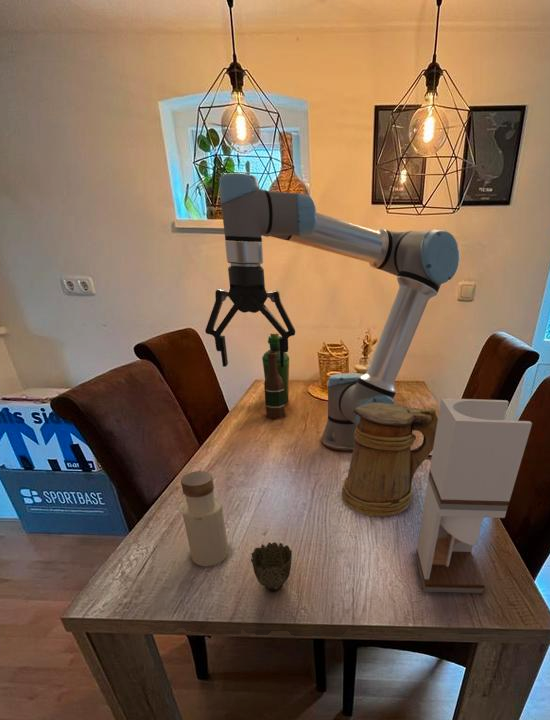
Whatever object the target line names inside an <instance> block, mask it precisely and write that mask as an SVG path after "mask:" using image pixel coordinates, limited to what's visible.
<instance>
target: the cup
mask: <svg viewBox="0 0 550 720" xmlns="http://www.w3.org/2000/svg"><path fill="white" fill-rule="evenodd" d="M292 560H293V550H292V549H291V548H290V547H289V545H288V544H285V545H283V543H282V542H280V543H279V544H278V543H277V542H275V541H273V542H272V543H271V541H270V542H268V543H267V544H266V545H264V544H261V547H255V548H254V550H253V552H251V564H252V568H253V572H254V575H255V577H256V578H255V579H256V580H257V582H258V583H259V584H260V585H262V587H264V588H265V590H266V591H268V592H271V593H274V592H278V591H280V590H281V589H282V588H283V587H284V584H285V583H286V582H287V581H288V580H289V578H290V575H291V569H292Z"/></svg>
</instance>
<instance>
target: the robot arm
mask: <svg viewBox="0 0 550 720" xmlns="http://www.w3.org/2000/svg"><path fill="white" fill-rule="evenodd" d="M219 195H220V197H219V198H220V202H219V203H220V204H219V205H220V206H221V215H222V223H223V230H224V231H223V232H224V243H225V244H224V246H225V253H226V254H225V255H226V262H227V263H228V264H230V265H229V266H228V267H227V272H228V281H229V290H223V289H221V288H218V289H216V290H215V293H214V294H215V300H214V304H213V307H212V310H211V312H210V315H209V318H208V321H207V324H206V327H205V329H204V332H205V334H206V335H210V336H213V337H214V345H215V350H216V352H220V355H221V356H220V357H221V362H222V367H223V368H224V367H227V366H228V365H229V361H228V353H227V345H226V337H225V335H222V333H223V331H225V329H226V328H227V326H228V325H229V324H230V322H232V319H233V318H234V317H235V315H236V314H237V313H238V311H239V312H241V313H252V314H256V313H259V312H260V313H261V314H262V315H263V316H264V317H265V318H266V319H267V321H268V322H269V323H270V324H271V325H272V326H273V328H274V329H275V330H276V331H277V333H279V336H280V338H279V342H280V362H281V367H284V352H285V353H289V338H290V337H293V336H295V335H296V329H295V327H294V325H293V323H292V321H291V319H290V317H289V316H288V312H287V311H286V309H285V307H284V305H283V303H282V300H281V293H280V291H279V290H275V291H269V292H268V291H267V290H266V283H265V281H266V280H265V268H264V267H263V266H262V265H263V264H264V254H263V239H262V236H263V237H267V238H268V237H269V238H270V237H271V238H275V239H279V240H283V241H288V242H291V243H295V244H298V245H303V246H306V247H311V248H314V249H318V250H322V251H325V252H329V253H333V254H336V255H340V256H343V257H348V258H351V259H355V260H359V261H362V262H366V263H368V264H369V266H370V267H371V268H373V269H377V270H380V271H382V272H386V273H388V274H391V275H393V276H396V281H397V284H398V291H397V292H396V295H395V298H394V300H393V303H392V305H391V308H390V310H389V312H388V315H387V319H386V321H385V323H384V326H383V329H382V331H381V334H380V336H379V339H378V342H377V344H376V346H375V350H374V352H373V354H372V357H371V360H370V363H369V365H368V366H367V367H368V368H367V369H366V372H365V373H364V374H363V373H358V372H357V373H356V372H343V373H334V374H332V375H330V376H329V378H328V380H327V381H328V383H327V421H326V424H325V428H324V429H323V432H322V436H321V441H322V444H323V445H324V447H327V448H328V449H331V450H334V451H339V452H340V451H341V452H353V449H354V444H355V439H354V432H355V428H356V425H357V424H358V423H359V421H360V416H359V415H357V414H356V413H354V410H355V409H356V408H357V407H360V406H363V405H366V404H369V403H387V404H395V405H396V403H395V401H394V399H395V396H396V394H397V390H396V387H395V382H396V380H397V377H398V376H399V373H400V370H401V368H402V365H403V363H404V361H405V358H406V356H407V353H408V351H409V349H410V347H411V343H412V341H413V339H414V337H415V334H416V332H417V329H418V327H419V324H420V322H421V319H422V316H423V315H424V312H425V310H426V307H427V304H428V302H429V300H430V299H432V298H434V297H436V296H437V295H438V293H439V291H440V288H441V286H442V285H443V284H445V283H447V282H449V281H450V280H452V279H453V278H454V276H455V275H456V273H457V270H458V268H459V265H460V256H461V255H460V250H459V244H458V242H457V239H456V238H455V236H454V235H453V234H452V233H451V232H449V231H447V230H443V229H438V228H432V229H425V230H406V231H405V230H402V231H401V230H400V231H399V230H398V231H396V230H388V229H385V228H378V229H377V230H373V229H371V228H367V227H364V226H361V225H357V224H354V223H351V222H348V221H345V220H342V219H339V218H335V217H333V216H329V215H326V214H322V213H319V212H317V206H316V203H315V200H314V198H313V197H312V196H311V195H309V194H303V193H300V192H285V191H274V190H266V189H262V188H260V185H259V180H258V178H257V177H256V176H254V175H252V174H247V173H241V172H240V173H239V172H229V173H227V172H226V173H223V174H222V175H221V176H220V178H219ZM227 298H228V299H230V301H231V302H232V304H233V305H232V306H231V308H230V309H229V311H228V313H227V314H226V315H225V317H224V318H223V319H222V321H221V322H220V324H219V325H218V327H217V328H216V329H215V325H216V323H217V320H218V317H219V314H220V312H221V309H222V306H223V303H224V302H225V301H226V300H227ZM267 299H270V301H271V302H272V303H274V305H275V307H276V309H277V311H278V313H279V315H280V317H281V318H282V321H283V323H284V325H285V327H286V328H287V330H286V329H285V328H284V326H283V325H282V324H281V323H280V322H279V321H278V319H277V318H276V317H275V316H274V314H273V313H272V312H271V311H270V310H269V308H268V307H267V306H266V304H265V303H266V301H267ZM427 458H430V459H431V458H432V454H429V455H428V457H427Z"/></svg>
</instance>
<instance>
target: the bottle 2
mask: <svg viewBox="0 0 550 720" xmlns="http://www.w3.org/2000/svg"><path fill="white" fill-rule="evenodd" d="M280 337H281V335H280V333H279V332H270V335H269V336H268V339H267V344H268V345H269V349H268V350H267V351H265V353H263V355H262V358H261V359H262V367H263V375H264V379H265V378H266V377H267V375H268V356H267V354H268V352H276V353H277V366H278V373H279V375H280V377H281V378H282V381H283V385H284V400H285V405H287V404H288V403H289V393H290V391H289V390H290V387H289V386H290V356H289V355H288V352H284V367H281V362H280V342H279V338H280Z"/></svg>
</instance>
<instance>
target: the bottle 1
mask: <svg viewBox="0 0 550 720" xmlns="http://www.w3.org/2000/svg"><path fill="white" fill-rule="evenodd" d="M184 496H185V501H186V503H185V504H183V506H182V508H181V513H182V517H183V522H184V527H185V532H186V536H187V541H188V546H189V550H190V555H191V559H192V561H193V563H194V564H196V565H198V566H200V567H211V566H215V565H218V564H220V563H222V562H223V561H224V560H226V559H227V558H228V555H229V544H228V538H227V531H226V524H225V517H224V511H223V504H222V502H221V500H219V499H217V498H216V497H215V494H214V490H213V491H212V492H211V493H210V494H208V495H206V496H202V497H188V496H186V495H184Z"/></svg>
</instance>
